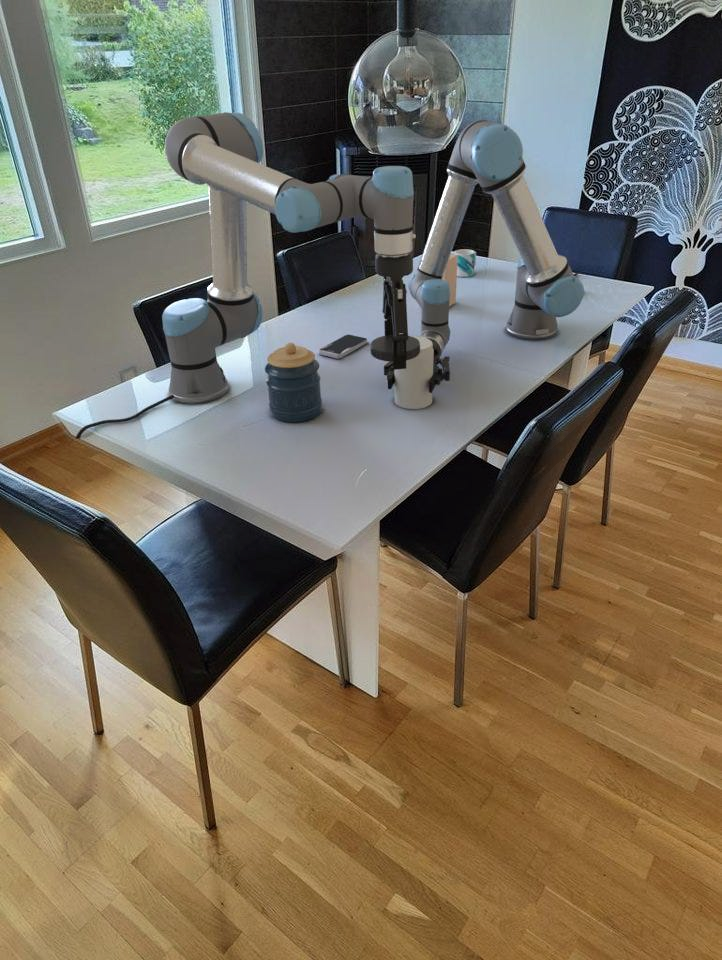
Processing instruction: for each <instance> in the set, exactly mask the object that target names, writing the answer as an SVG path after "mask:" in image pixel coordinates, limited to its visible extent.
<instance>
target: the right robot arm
mask: <svg viewBox="0 0 722 960" xmlns="http://www.w3.org/2000/svg"><path fill="white" fill-rule="evenodd" d="M523 157H524V148H523V143H522V140H521V138H520V137H519V135H518V134H517V133H516V131H514V129H512V128H511V127H510V126H508V125H506V124H503V123H501V122H500V123H499V122H492V121H490V120H486V119H481V120H480V119H478V120H475V121H472V122H471V123H469V124H467V125H466V126H465V127H464V128H463V129H462V131H461V132H460V134H459V135H458V136H457V139H456V142H455V144H454V147H453V150H452V152H451V156H450V159H449V161H448V165H447V167H446V173H447V180H446V182H445V186H444V189H443V192H442V195H441V198H440V200H439V204H438V207H437V209H436V212H435V214H434V215H435V216H434V219H433V222H432V225H431V228H430V231H429V233H428V237H427V240H426V243H425V245H424V249H423V252H422V255H421V258H420V261H419V264H418V267H417V269H416V272H415V273H413V274H412V275H411V277H410V279H409V280H408V283H407V284H408V286H407V287H408V291H409V293H410V295H411V297H412V299H413V300H415V301H416V303H417V304H418V305H419V307H420V310H421V313H420V314H421V319H420V320H421V321H420V322H421V324H420V336H419V337H423V338H427V339H429V340H431V341H432V343H433V350H434V356H433V375H432V377H431V380H430V382H429V393H432V392H434V390H435V388H436V386H440V385H441V383H442V381H443V380H444V381H445V382H449V381H450V380H451V370H450V356H444V357H442V354H443V352H444V350H445V348H446V346H447V345H448V343H449V341H450V338H451V337H450V336H451V328H450V326H449V325H450V324H449V317H450V307H449V299H450V289H449V283H448V282H447V281H443V280H442V277H443V273H444V271H445V268H446V265H447V262H448V260H449V257H450V254H452V251H453V249H454V245H455V243H456V240H457V237H458V235H459V233H460V232H459V231H460V229H461V226H462V223H463V220H464V218H465V215H466V213H467V209H468V207H469V204H470V201H471V199H472V196H473V193H474V190H475V187H476V185H478V184H479V186H480V188H481V190H482V192H483V193H484V194H488V195H491V196H492V198H493V200H494V203H495V204H496V207H497V210H498V211H499V213H500V215H501V217H502V219H503V221H504V223H505V226H506V228H507V230H508V232H509V234H510V237H511V238H512V240H513V242H514V244H515V246H516V249H517V251H518V253H519V255H520V258H519V259H518V263H517V267H516V269H517V270H516V271H517V272H516V284H515V296H514V305H513V308H512V311H511V313H510V315H509V318H508V320H507V321H506V328H505V331H506V333H507V334H508V335H510V336H511V337H514V338H518V339H522V340H528V341H529V340H530V341H538V340H546V339H547V340H548V339H551V338H553V337H555V336H556V335H557V334H558V328H559V327H558V320H557V318H563V317H567V316H569V315H570V314H572V313H573V312H575V311H576V310H577V309H578V308H579V306H580V305H581V303H582V301H583V299H584V296H585V288H584V287H585V286H584V285H583V283H582V281H581V279H580V278H578V277H577V275H579V272H575V273H574V272H573V271H572V269H571V266H570V263H569V262H568V259H567V257H566V256H564V255H561V254H558V252H557V250H556V247H555V244H554V243H553V240H552V238H551V236H550V233H549V231H548V229H547V227H546V225H545V222H544V220H543V218H542V215H541V212H540V211H539V208H538V207H537V204H536V202H535V199H534V197H533V195H532V193H531V191H530V189H529V186H528V183H527V182H526V179H525V177H524V174H525V171H526V169H527V165H526V163H525V160H524V158H523ZM439 365H440V366H441V367H439ZM383 376H386V381H387V390H392V388H393V386H395V381H394V370H393V362H389V361H387V363H385V364H384V365H383Z"/></svg>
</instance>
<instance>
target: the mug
mask: <svg viewBox="0 0 722 960" xmlns="http://www.w3.org/2000/svg"><path fill="white" fill-rule="evenodd" d="M453 254H456V255H458V258H457V277H460V278H465V277H466V278H467V277H472V276H474V274H475V266H476V264H477V251H475V250H473V249H467V248H464V249H457V250H454V252H453Z"/></svg>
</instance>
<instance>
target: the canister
mask: <svg viewBox="0 0 722 960" xmlns="http://www.w3.org/2000/svg"><path fill="white" fill-rule="evenodd" d="M266 360H267V364H265V367H264V372H265V373H266V375H267V378H266V382H265V383H266V385H267V393H268V400H269V402H268V406H269V410H270V413H271V415H272V417H273V418H275V419H276V420H279V421H282V422H288V423H289V422H290V423H296V422H297V423H298V422H304V421H308V420H311V419H313V418H315V417H317V416H318V415H319V414H320V413H321V411H322V408H323V399H322V392H321V376H320V374H319V372H318V370H319V369H320V363H319V361H318V360H317V359H316V354H315V352H313V351H312V350H309V349H308V348H306V347H304V346H299V345H296V344H294V343H293V342H287V343H286V344H285V346H283V347H279V348H277V349H275V350H274V351H273V352H272V353H270V354H269V355H268V356H267V359H266Z"/></svg>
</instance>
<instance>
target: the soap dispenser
mask: <svg viewBox="0 0 722 960" xmlns="http://www.w3.org/2000/svg"><path fill="white" fill-rule="evenodd" d="M457 258H458V255H456V254H454V253H451V254H450V257H449V260H448V262H447V265H446V268H445V271H444V273H443V277H442V280H443V281H447V282H448V283H449V289H450V299H449V308H451V306H453V305H454V304H456V302H457V301H456V300H457V282H458V281H457V280H458V279H457V277H458V276H457Z"/></svg>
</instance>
